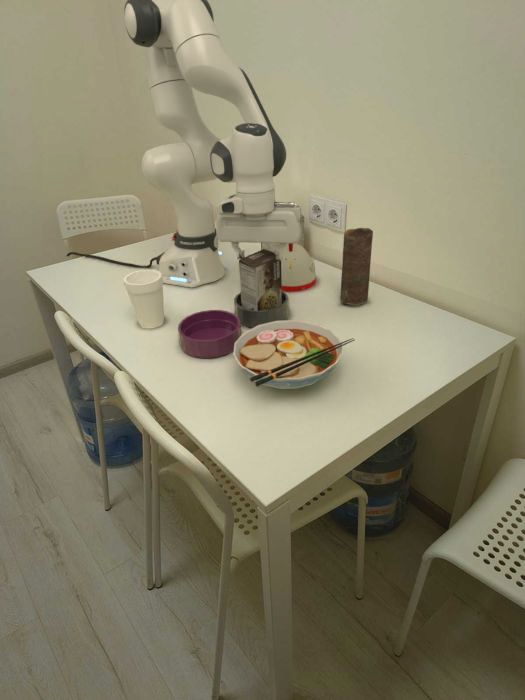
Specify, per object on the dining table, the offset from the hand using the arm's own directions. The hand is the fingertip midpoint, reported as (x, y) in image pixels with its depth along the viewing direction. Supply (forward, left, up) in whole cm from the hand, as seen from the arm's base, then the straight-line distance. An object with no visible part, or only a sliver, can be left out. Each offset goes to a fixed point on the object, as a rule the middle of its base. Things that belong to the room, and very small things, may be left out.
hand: (260, 259), depth 117 cm
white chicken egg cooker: (+4, +22, -16) cm, 28 cm away
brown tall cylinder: (+23, +11, -16) cm, 30 cm away
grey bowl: (0, 0, -16) cm, 16 cm away
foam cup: (-28, -8, -16) cm, 34 cm away
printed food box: (0, 0, -16) cm, 16 cm away
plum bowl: (-9, -15, -16) cm, 24 cm away
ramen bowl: (+12, -25, -16) cm, 32 cm away
